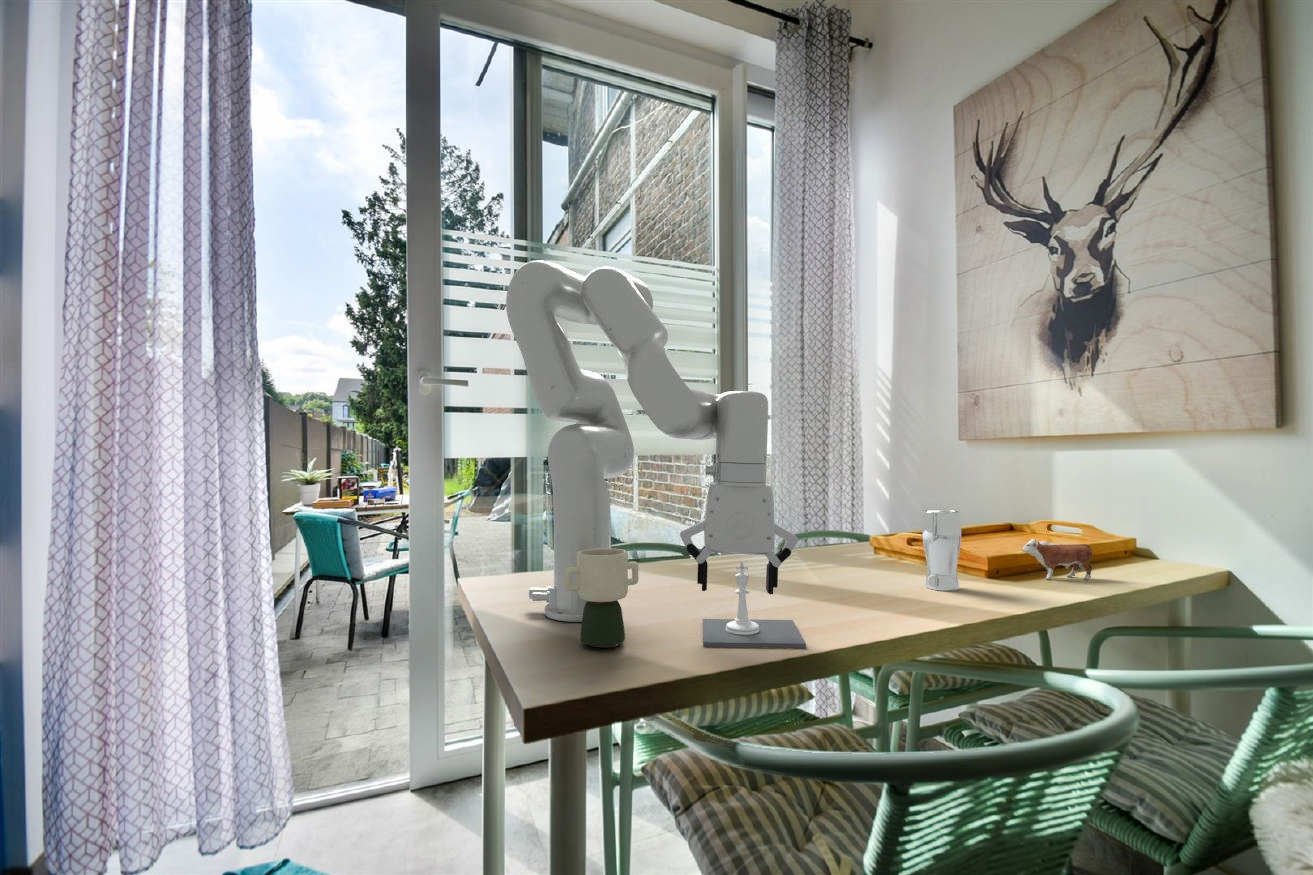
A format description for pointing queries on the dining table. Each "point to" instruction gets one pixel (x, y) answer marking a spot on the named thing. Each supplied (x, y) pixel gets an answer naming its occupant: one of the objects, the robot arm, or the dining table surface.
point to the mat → (768, 636)
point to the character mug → (602, 593)
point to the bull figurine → (1061, 556)
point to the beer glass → (941, 548)
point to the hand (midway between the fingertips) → (736, 590)
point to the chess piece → (742, 608)
